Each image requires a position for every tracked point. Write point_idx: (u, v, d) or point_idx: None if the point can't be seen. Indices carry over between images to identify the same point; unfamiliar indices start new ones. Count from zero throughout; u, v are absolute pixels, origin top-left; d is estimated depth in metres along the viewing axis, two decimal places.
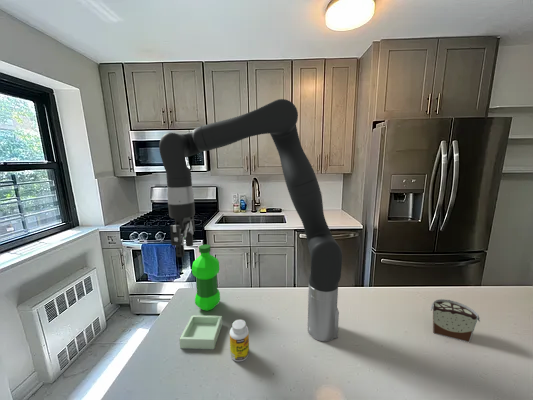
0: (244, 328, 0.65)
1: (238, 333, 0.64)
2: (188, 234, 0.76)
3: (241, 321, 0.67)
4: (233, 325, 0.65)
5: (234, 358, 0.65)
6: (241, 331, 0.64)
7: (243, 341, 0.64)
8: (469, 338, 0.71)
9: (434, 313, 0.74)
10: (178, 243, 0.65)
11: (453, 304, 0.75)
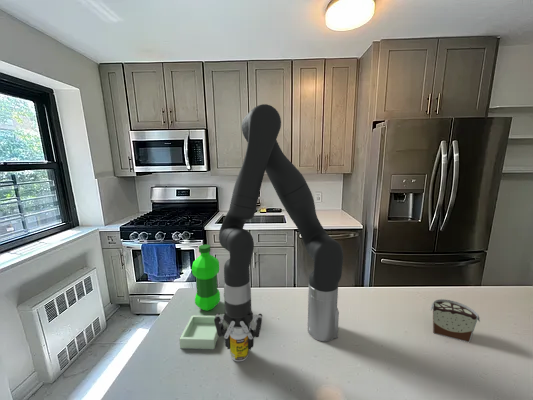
0: None
1: (238, 333, 0.64)
2: None
3: None
4: None
5: (234, 358, 0.65)
6: (241, 331, 0.64)
7: (243, 341, 0.64)
8: (469, 338, 0.71)
9: (434, 313, 0.74)
10: None
11: (453, 304, 0.75)
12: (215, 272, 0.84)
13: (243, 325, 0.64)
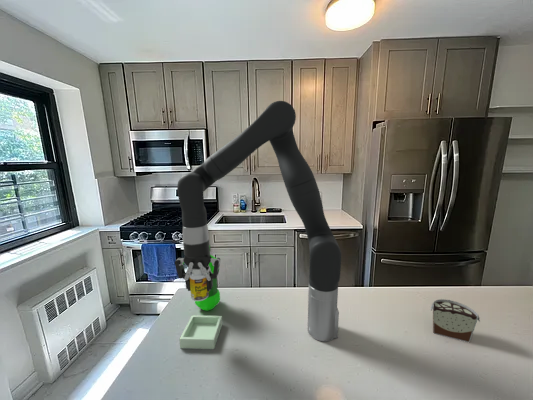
0: None
1: (196, 274, 0.69)
2: (189, 277, 0.71)
3: None
4: None
5: (193, 298, 0.70)
6: (199, 272, 0.69)
7: (201, 282, 0.69)
8: (469, 338, 0.71)
9: (434, 313, 0.74)
10: None
11: (453, 304, 0.75)
12: None
13: (201, 266, 0.69)
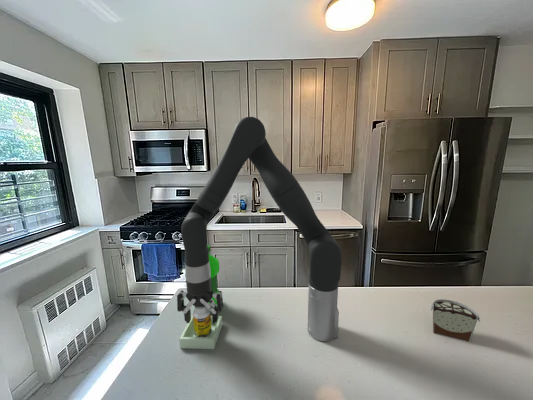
0: (205, 309, 0.72)
1: (200, 313, 0.71)
2: (188, 310, 0.74)
3: None
4: None
5: (196, 336, 0.72)
6: (202, 311, 0.71)
7: (204, 320, 0.71)
8: (469, 338, 0.71)
9: (434, 313, 0.74)
10: None
11: (453, 304, 0.75)
12: (215, 272, 0.85)
13: (204, 302, 0.71)
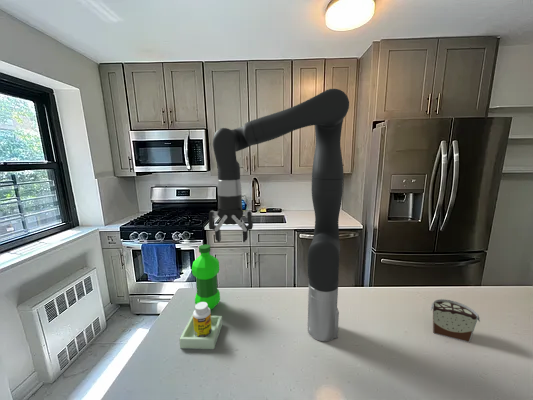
0: (205, 309, 0.72)
1: (200, 313, 0.71)
2: (219, 229, 0.76)
3: (204, 303, 0.74)
4: (196, 306, 0.73)
5: (196, 336, 0.72)
6: (202, 311, 0.72)
7: (204, 320, 0.71)
8: (469, 338, 0.71)
9: (434, 313, 0.74)
10: (252, 225, 0.76)
11: (453, 304, 0.75)
12: (215, 272, 0.84)
13: (235, 218, 0.73)
